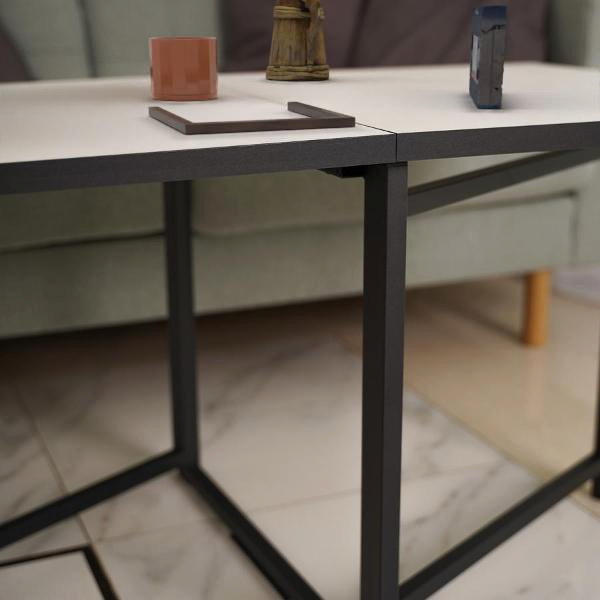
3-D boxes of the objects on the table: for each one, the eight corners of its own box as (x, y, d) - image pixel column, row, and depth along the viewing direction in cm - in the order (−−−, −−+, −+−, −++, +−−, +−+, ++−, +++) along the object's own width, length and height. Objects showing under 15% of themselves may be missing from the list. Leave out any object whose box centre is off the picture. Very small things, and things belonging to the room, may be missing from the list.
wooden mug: (291, 84, 121) (291, -62, 115) (257, 77, 133) (255, -56, 127) (352, 82, 124) (355, -60, 118) (313, 75, 136) (314, -54, 130)
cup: (160, 101, 98) (157, 39, 96) (146, 95, 105) (143, 37, 103) (225, 99, 101) (224, 38, 99) (208, 93, 108) (206, 36, 106)
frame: (185, 134, 73) (185, 124, 73) (148, 115, 86) (148, 106, 86) (355, 126, 78) (355, 117, 78) (296, 109, 91) (296, 101, 91)
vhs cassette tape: (467, 92, 110) (472, 5, 107) (492, 93, 109) (498, 5, 106) (472, 108, 92) (477, 5, 89) (501, 109, 92) (508, 5, 89)
